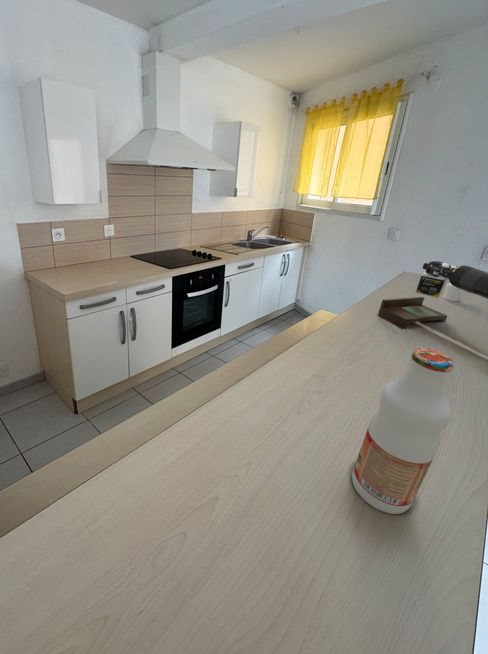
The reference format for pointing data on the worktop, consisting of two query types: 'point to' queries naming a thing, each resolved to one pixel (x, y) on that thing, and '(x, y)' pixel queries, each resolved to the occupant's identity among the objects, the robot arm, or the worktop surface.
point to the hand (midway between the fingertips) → (432, 265)
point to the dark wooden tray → (408, 311)
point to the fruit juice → (404, 433)
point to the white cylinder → (452, 293)
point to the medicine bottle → (432, 282)
